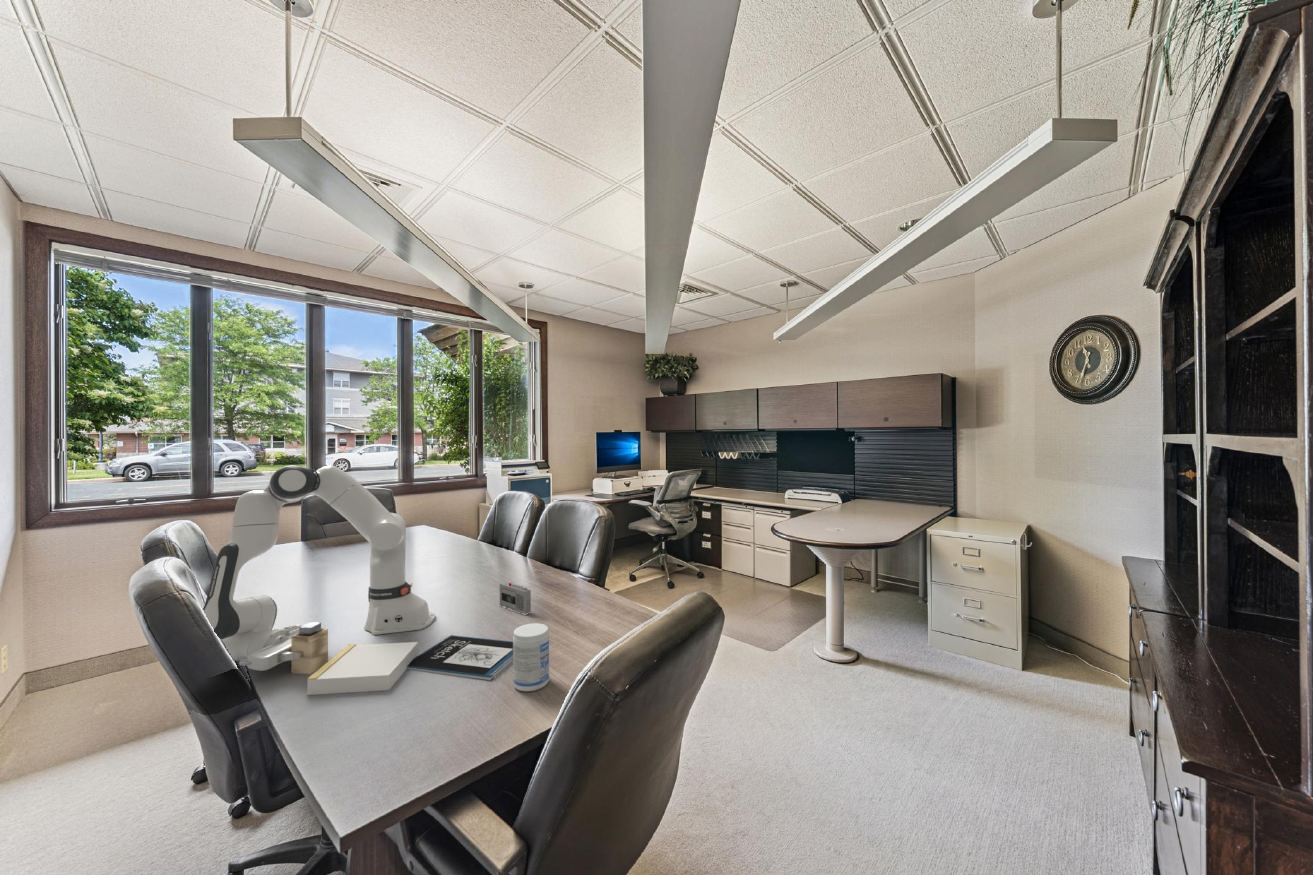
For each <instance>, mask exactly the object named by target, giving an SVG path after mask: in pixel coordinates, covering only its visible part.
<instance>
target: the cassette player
mask: <svg viewBox="0 0 1313 875" xmlns="http://www.w3.org/2000/svg"><path fill="white" fill-rule="evenodd" d="M531 593H532V592H531V589H529V588H528V586H524V585H521V584H518V583H515V582H507V581H505V582H502V583H499V606H500V605H501V606H505V607H506V608H510V609H512V610H515V611H517V612H520V613H524V614H526V613H529V612H531V610H532V608H531V603H532V602H531V601H532V598H531V597H532V595H531ZM506 608H505V609H506ZM517 612H516V613H517ZM520 613H519V614H520Z"/></svg>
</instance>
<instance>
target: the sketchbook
mask: <svg viewBox="0 0 1313 875" xmlns="http://www.w3.org/2000/svg"><path fill="white" fill-rule="evenodd" d="M511 665H513V640H512V641H509V640H501V639H492V638H490V639H489V638H480V637H474V636H473V637H472V636H471V637H470V636H462V635H461V636H460V635H453V634H452V635H449V636H447V637H446V638H444V639H443V640H441V641H439V642H437V643H436V644H434V645H433V646H432V647H430V648H428V649H426V650H425V651H423V652H422V653H420V654H418V656H417V657H415V658H414V659H413V660H412V661H411V662H410V663H409V665H408V666H407V669H406V670H412V671H420V672H427V673H435V674H441V675H446V676H447V675H448V676H455V677H463V678H470V679H475V680H476V679H477V680H483V681H492V680H496V679H497V678H498V677H500V675H501V674H502V673H503V672H505V671H506V670H507V669H508V668H510V666H511Z"/></svg>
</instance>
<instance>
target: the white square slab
mask: <svg viewBox="0 0 1313 875" xmlns="http://www.w3.org/2000/svg"><path fill="white" fill-rule="evenodd" d="M417 656H419V641H410V642H390V643H389V642H388V643H387V642H386V643H369V644H357V643H353V644H352V643H351V644H348V645H346V646H345V647H344V648H343V649H341V651H339V652H338V653H337V654H336V655H334V656H333V657H332V658H331V659H328V662H327V663H326V664H325V665H323V666H322V667H321V668H320V669H319V670H317V671H315V672H313V673H312V674H310V676H309V677H308V678H307V680H306V681H307V682H306V683H307V688H306V689H307V696H313V695H315V696H317V695H329V694H331V695H332V694H347V693H348V692H349V693H362V692H363V693H365V692H366V693H367V692H380V691H381V692H382V691H383V692H384V691H389V690H390V689H392V688H393V686H394V685H395V684H396V682H397V681H398V680H399V679H400V678H401V676H402V675H403V674H404V672H406V670H408V669H407V666H408V665H409V663H410V662H411V661H412V660H413V659H414V658H415V657H417Z"/></svg>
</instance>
